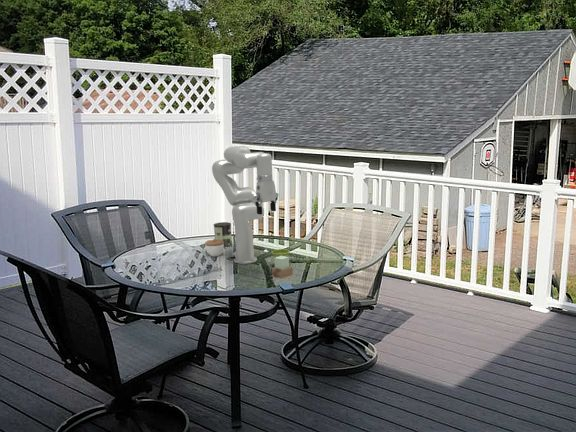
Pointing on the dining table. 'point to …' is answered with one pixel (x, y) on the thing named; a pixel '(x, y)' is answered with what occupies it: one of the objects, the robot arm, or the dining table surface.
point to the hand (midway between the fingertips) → (266, 212)
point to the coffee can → (223, 233)
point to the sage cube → (281, 262)
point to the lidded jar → (214, 247)
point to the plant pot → (280, 253)
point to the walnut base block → (282, 272)
